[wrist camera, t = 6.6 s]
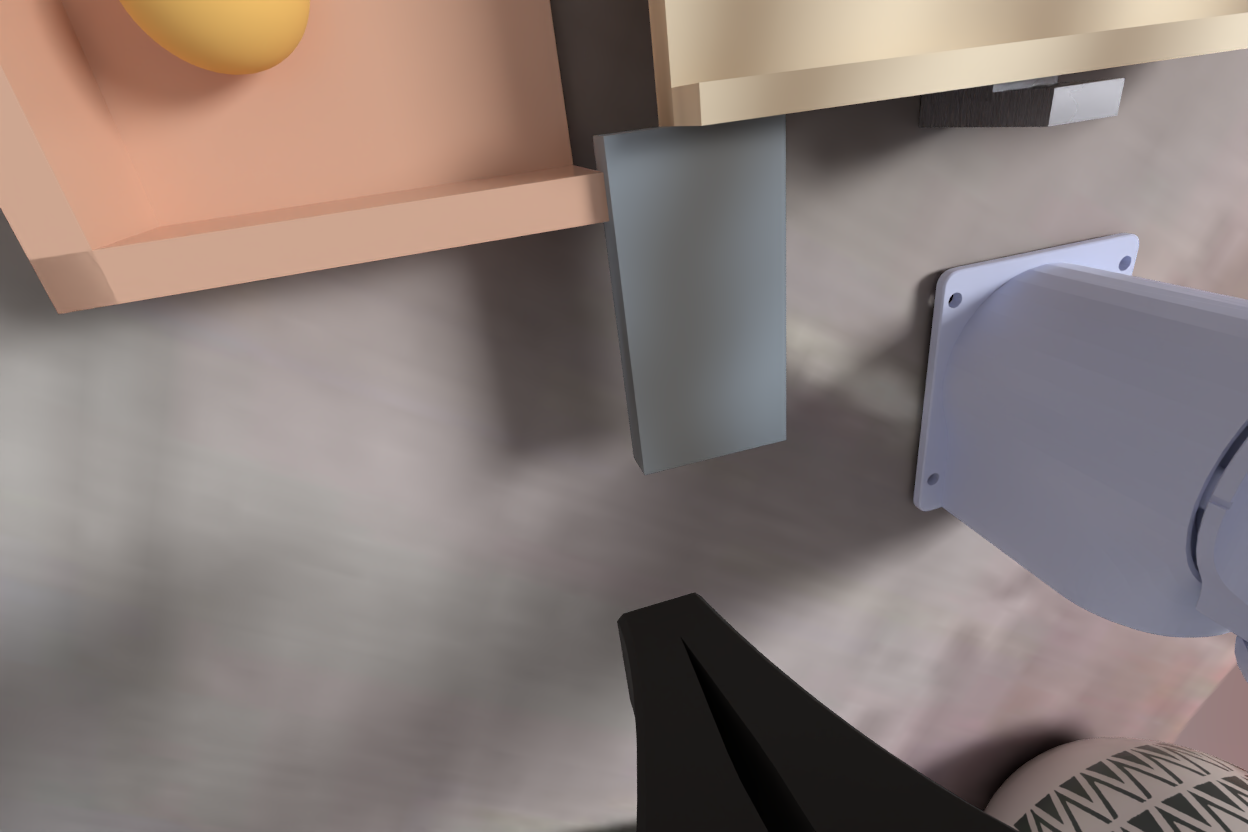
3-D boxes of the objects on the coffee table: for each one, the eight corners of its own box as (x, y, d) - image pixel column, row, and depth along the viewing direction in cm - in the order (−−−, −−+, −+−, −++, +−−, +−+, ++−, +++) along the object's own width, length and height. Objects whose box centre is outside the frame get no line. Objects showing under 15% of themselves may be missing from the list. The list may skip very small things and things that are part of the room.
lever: (1461, -327, 14) (1694, -430, 12) (1246, 308, 21) (1363, 334, 18) (532, -330, 10) (566, -491, 8) (633, 457, 17) (670, 517, 14)
